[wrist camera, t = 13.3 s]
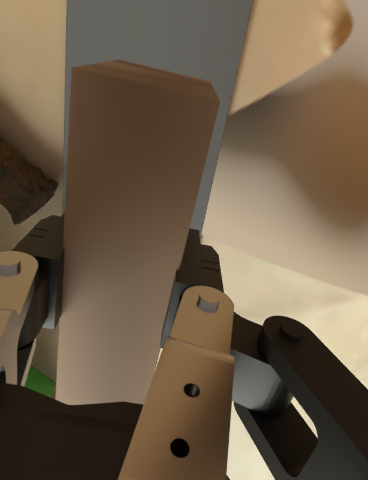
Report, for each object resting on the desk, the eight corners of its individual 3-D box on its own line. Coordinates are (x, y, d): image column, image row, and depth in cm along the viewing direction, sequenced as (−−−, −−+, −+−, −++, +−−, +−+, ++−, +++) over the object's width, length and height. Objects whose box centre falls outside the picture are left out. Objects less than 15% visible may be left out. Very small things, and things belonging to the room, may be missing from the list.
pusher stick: (55, 398, 19) (14, 500, 15) (71, 49, 11) (-7, 49, 7) (162, 414, 20) (154, 519, 15) (254, 90, 12) (290, 117, 7)
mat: (63, 272, 31) (61, 275, 30) (71, -108, 19) (69, -112, 19) (187, 291, 31) (187, 295, 31) (265, -65, 20) (267, -68, 20)
